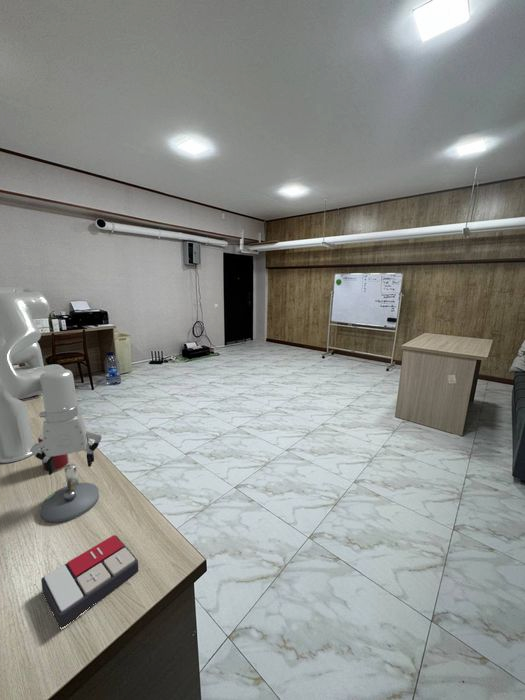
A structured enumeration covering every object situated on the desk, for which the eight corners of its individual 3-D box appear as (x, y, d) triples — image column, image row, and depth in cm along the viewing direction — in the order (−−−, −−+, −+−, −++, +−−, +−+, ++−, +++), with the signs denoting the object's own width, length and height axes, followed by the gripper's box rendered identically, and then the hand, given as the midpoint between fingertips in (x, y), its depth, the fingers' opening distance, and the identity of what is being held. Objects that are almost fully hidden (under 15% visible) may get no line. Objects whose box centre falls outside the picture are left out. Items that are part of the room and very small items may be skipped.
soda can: (56, 474, 96) (50, 441, 94) (37, 471, 98) (31, 438, 95) (74, 461, 103) (69, 430, 101) (56, 458, 105) (51, 428, 102)
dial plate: (49, 493, 88) (48, 488, 87) (101, 482, 93) (101, 477, 92) (33, 529, 75) (32, 524, 75) (95, 514, 80) (94, 509, 80)
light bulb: (75, 499, 83) (72, 477, 81) (62, 502, 82) (59, 480, 80) (80, 481, 90) (78, 461, 89) (69, 483, 89) (66, 463, 87)
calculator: (138, 558, 64) (58, 613, 52) (139, 574, 65) (60, 632, 53) (115, 531, 71) (40, 575, 59) (116, 546, 71) (42, 592, 60)
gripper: (19, 424, 75) (31, 483, 79) (95, 413, 82) (103, 468, 85) (29, 413, 82) (40, 467, 86) (99, 403, 89) (106, 455, 92)
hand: (71, 467), depth 86 cm, fingers open, 9 cm apart
